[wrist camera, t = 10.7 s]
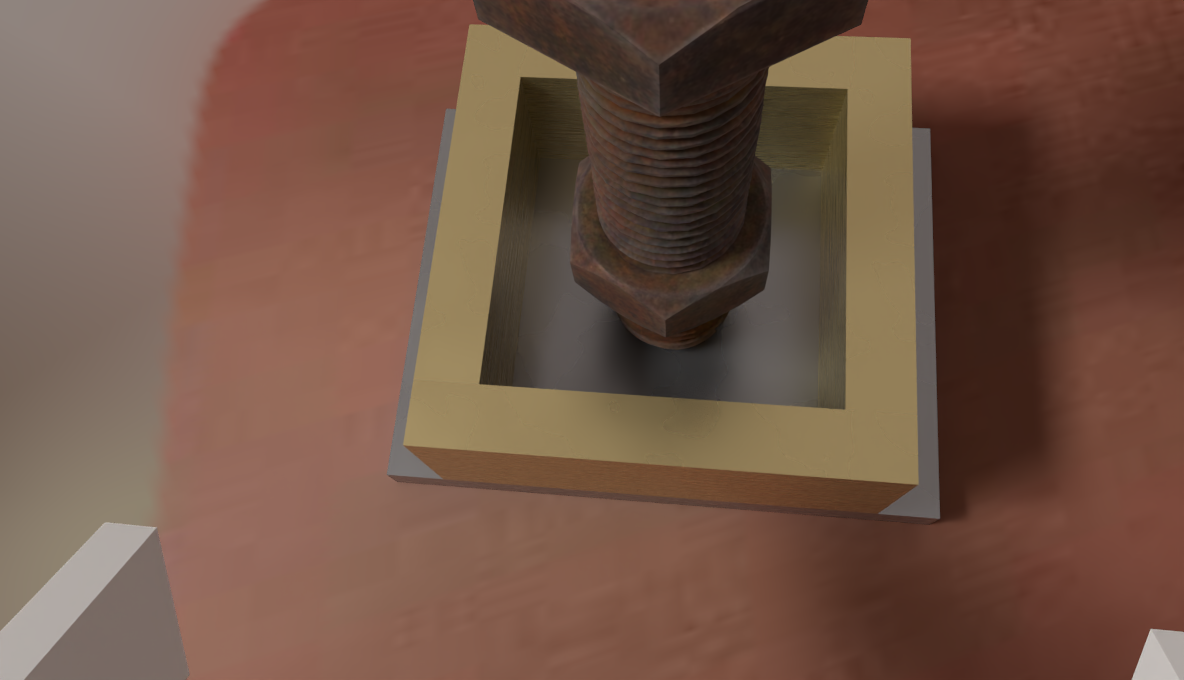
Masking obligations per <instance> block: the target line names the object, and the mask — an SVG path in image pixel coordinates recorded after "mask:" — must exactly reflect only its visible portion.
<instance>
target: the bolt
mask: <svg viewBox="0 0 1184 680" xmlns="http://www.w3.org/2000/svg"><path fill="white" fill-rule="evenodd" d="M473 2H474V5H475V9H476V12H477V16H478V19H479V20H481V21H482V22H484V23H486V24H488V25H490V26H492V27H494V28H495V29H497V30H499V31H501V32H503V33H505V34H507V35H508V36H510V37H512V38H514V39H516V40H518V41H520V42H521V43H523V44H525V45H527V46H529V47H531V48H533V49H534V50H536V51H538V52H540V53H542V54H544V55H546V56H547V57H549V58H551V59H553V60H555V61H557V62H559V63H560V64H562V65H564V66H566V67H568V68H570V69H572V70H573V71H575V72H576V76H577V88H578V91H579V99H580V102H581V111H582V118H583V123H584V131H585V134H586V142H587V149H588V154H589V156H588V157H586V158H585V159H584V160H582V161H581V162H579V166H578V172H577V177H576V184H575V193H574V201H573V213H572V226H571V248H570V265H571V269H572V273H573V277H574V281H575V283H577V284H578V285H579V286H581V287H582V288H583V289H585V290H586V291H587V292H588V293H590V294H591V295H592V296H594V297H595V298H596V299H597V300H599V301H600V302H602V303H603V304H605V305H607V306H608V307H610V308H611V309H613V310H614V311H616V313H617V315H618V317H619V318H620V320H621V321H622V323H623V324H624V326H625V327H626V328H627V329H628V330H629V331H630V333H631V334H633V335H634V336H635V337H637V338H638V339H640V340H641V341H644V342H646V343H648V344H650V345H654V346H657V347H661V348H664V349H677V350H679V349H685V348H690V347H692V346H695V345H697V344H700V343H701V342H703V341H705V340H706V339H708V338H710V337H711V336H712V335H713V334H714V333H715V332H716V330H715V328H716V327H718V325H719V324H720V323H721V324H722V323H723V322H724V320H725V318H726V317H727V315H728V312H729V311H730V310H732V309H734V308H736V307H738V306H740V305H741V304H743V303H744V302H746V301H748V300H749V299H751V298H752V297H754V296H755V295H757V294H759V293H760V292H762V291H763V290H764V289H765V285H766V281H767V277H768V273H769V262H770V246H771V216H772V181H771V168H770V167H769V166H768V165H766V164H765V163H764V162H763V161H761V160H760V159H759V158H758V157H757V156H755V151H756V148H757V142H758V137H759V132H760V125H761V120H762V111H763V106H764V94H765V85H766V81H767V77H768V70H769V67H770V66H772V65H774V64H776V63H779V62H781V61H783V60H785V59H787V58H789V57H792V56H794V55H796V54H798V53H800V52H802V51H805V50H807V49H809V48H811V47H813V46H816V45H818V44H820V43H822V42H824V41H826V40H829V39H831V38H833V37H835V36H837V35H839V34H842V33H844V32H846V31H848V30H850V29H852V28H855V27H857V26H859V25H861V23H862V20H863V16H864V13H865V9H866V6H867V2H868V0H473Z"/></svg>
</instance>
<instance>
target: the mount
mask: <svg viewBox="0 0 1184 680" xmlns="http://www.w3.org/2000/svg"><path fill="white" fill-rule="evenodd" d="M588 156H589V154H588V149H587V142H586V134H585V131H584V123H583V118H582V111H581V102H580V99H579V91H578V88H577V76H576V72H575V71H573V70H572V69H570V68H568V67H566V66H564V65H562V64H560V63H559V62H557V61H555V60H553V59H551V58H549V57H547V56H546V55H544V54H542V53H540V52H538V51H536V50H534V49H533V48H531V47H529V46H527V45H525V44H523V43H521V42H520V41H518V40H516V39H514V38H512V37H510V36H508V35H507V34H505V33H503V32H501V31H499V30H497V29H495V28H494V27H492V26H490V25H469V31H468V38H467V44H466V50H465V57H464V63H463V69H462V76H461V82H460V88H459V95H458V101H457V107H456V109H446V113H445V119H444V126H443V132H442V138H441V144H440V150H439V156H438V163H437V169H436V175H435V181H434V187H433V193H432V200H431V206H430V212H429V218H428V224H427V230H426V237H425V243H424V249H423V255H422V261H421V267H420V273H419V280H418V286H417V292H416V298H415V304H414V310H413V317H412V323H411V329H410V335H409V341H408V347H407V354H406V360H405V366H404V372H403V378H402V384H401V391H400V397H399V403H398V409H397V415H396V421H395V428H394V434H393V440H392V446H391V452H390V458H389V465H388V471H387V475H388V476H389V477H391V478H392V479H394V480H395V481H397V482H406V483H419V484H431V485H444V486H456V487H469V488H481V489H494V490H506V491H518V492H531V493H543V494H556V495H568V496H581V497H593V498H606V499H618V500H631V501H643V502H655V503H668V504H680V505H693V506H705V507H718V508H730V509H743V510H755V511H767V512H780V513H792V514H805V515H817V516H830V517H842V518H855V519H867V520H880V521H892V522H904V523H917V524H931V523H933V522H935V521H937V520H939V519H940V500H939V460H938V420H937V380H936V341H935V301H934V261H933V221H932V181H931V142H930V129H929V128H912V94H911V39H910V38H879V37H847V36H835V37H833V38H831V39H829V40H826V41H824V42H822V43H820V44H818V45H816V46H813V47H811V48H809V49H807V50H805V51H802V52H800V53H798V54H796V55H794V56H792V57H789V58H787V59H785V60H783V61H781V62H779V63H776V64H774V65H772V66H770V67H769V70H768V77H767V81H766V85H765V94H764V106H763V111H762V120H761V125H760V132H759V137H758V142H757V148H756V151H755V156H757V157H758V158H759V159H760V160H761V161H763V162H764V163H765V164H766V165H768V166H769V167H770V168H771V181H772V216H771V246H770V262H769V273H768V277H767V281H766V285H765V289H764V290H763V291H762V292H760V293H759V294H757V295H755V296H754V297H752V298H751V299H749V300H748V301H746V302H744V303H743V304H741V305H740V306H738V307H736V308H734V309H732V310H730V311H729V312H728V315H727V317H726V318H725V320H724V322H723V323H722V324H721V323H720V324H719V325H718V327H716V328H715V330H716V332H715V333H714V334H713V335H712V336H711V337H710V338H708V339H706V340H705V341H703V342H701V343H700V344H697V345H695V346H692V347H690V348H685V349H679V350H677V349H664V348H661V347H657V346H654V345H650V344H648V343H646V342H644V341H641V340H640V339H638V338H637V337H635V336H634V335H633V334H631V333H630V331H629V330H628V329H627V328H626V327H625V326H624V324H623V323H622V321H621V320H620V318H619V317H618V315H617V313H616V311H614V310H613V309H611V308H610V307H608V306H607V305H605V304H603V303H602V302H600V301H599V300H597V299H596V298H595V297H594V296H592V295H591V294H590V293H588V292H587V291H586V290H585V289H583V288H582V287H581V286H579V285H578V284H577V283H575V281H574V277H573V273H572V269H571V265H570V248H571V226H572V213H573V201H574V193H575V184H576V177H577V172H578V166H579V162H581V161H582V160H584V159H585V158H586V157H588Z"/></svg>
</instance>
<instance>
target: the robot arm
mask: <svg viewBox="0 0 1184 680" xmlns="http://www.w3.org/2000/svg"><path fill="white" fill-rule="evenodd" d="M188 676H189V669H188V665H187V661H186V656H185V652H184V647H183V643H182V638H181V634H180V629H179V625H178V620H177V616H176V611H175V607H174V602H173V598H172V593H171V589H170V584H169V580H168V575H167V571H166V566H165V562H164V557H163V553H162V548H161V544H160V540H159V535H158V531H157V527H147V526H137V525H128V524H117V523H107V522H105V523H104V524H103V525H102V526H101V527H100V528H99V529H98V530H97V531H96V532H95V533H94V534H93V535H92V536H91V537H90V538H89V539H88V541H87V542H86V543H85V544H84V545H83V546H82V547H81V548H80V549H79V550H78V551H77V552H76V553H75V554H74V555H73V556H72V557H71V558H70V559H69V560H68V561H67V562H66V563H65V564H64V566H63V567H62V568H61V569H60V570H59V571H58V572H57V573H56V574H55V575H54V576H53V577H52V578H51V579H50V580H49V581H48V582H47V583H46V584H45V585H44V586H43V587H42V588H41V589H40V590H39V592H38V593H37V594H36V595H35V596H34V597H33V598H32V599H31V600H30V601H29V602H28V603H27V604H26V605H25V606H24V607H23V608H22V609H21V611H19V612H18V614H16V615H15V617H14V618H13V619H12V620H11V621H10V622H9V623H8V624H7V625H6V626H5V627H4V628H3V629H2V630H1V631H0V680H186V679H187V677H188ZM1132 680H1184V632H1178V631H1168V630H1159V629H1151V630H1150V632H1149V635H1148V638H1147V640H1146V643H1145V646H1144V648H1143V651H1142V654H1141V656H1140V659H1139V662H1138V664H1137V667H1136V670H1135V673H1134V675H1133V678H1132Z"/></svg>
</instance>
